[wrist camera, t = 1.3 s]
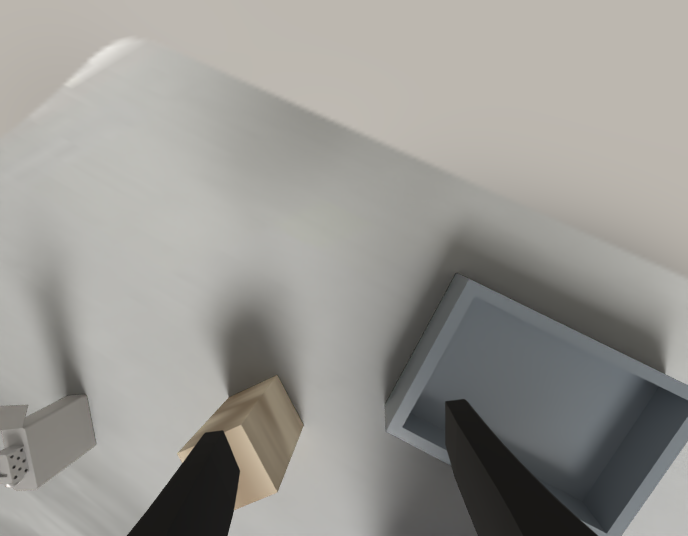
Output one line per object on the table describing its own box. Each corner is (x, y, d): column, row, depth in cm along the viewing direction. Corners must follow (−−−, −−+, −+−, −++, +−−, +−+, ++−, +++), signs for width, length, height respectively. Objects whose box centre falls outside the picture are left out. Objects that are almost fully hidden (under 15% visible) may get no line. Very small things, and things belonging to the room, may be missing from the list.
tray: (579, 505, 21) (611, 549, 18) (384, 405, 22) (385, 431, 19) (666, 375, 20) (716, 399, 17) (456, 272, 21) (469, 278, 18)
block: (254, 446, 23) (212, 518, 17) (228, 397, 23) (177, 453, 17) (303, 425, 23) (277, 492, 17) (277, 374, 23) (241, 424, 17)
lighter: (96, 446, 25) (-37, 546, 17) (76, 447, 25) (-66, 546, 17) (78, 355, 24) (-68, 414, 16) (58, 357, 24) (-98, 416, 16)
